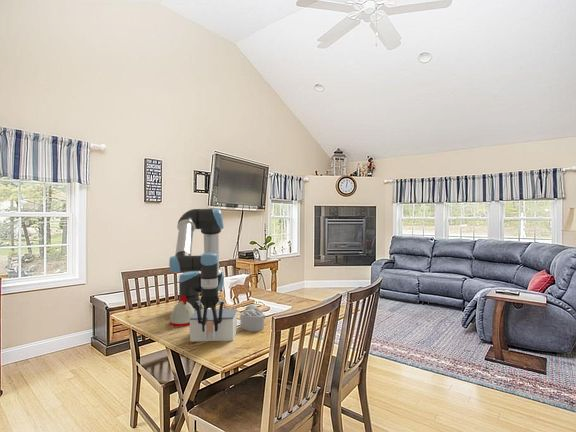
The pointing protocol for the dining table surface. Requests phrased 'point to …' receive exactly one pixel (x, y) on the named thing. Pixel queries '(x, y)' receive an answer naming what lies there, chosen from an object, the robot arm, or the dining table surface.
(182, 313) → the kitchen timer
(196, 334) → the carton
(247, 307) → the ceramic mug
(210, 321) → the carton lid
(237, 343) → the dining table surface
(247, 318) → the lumpy-topped squat cylinder
